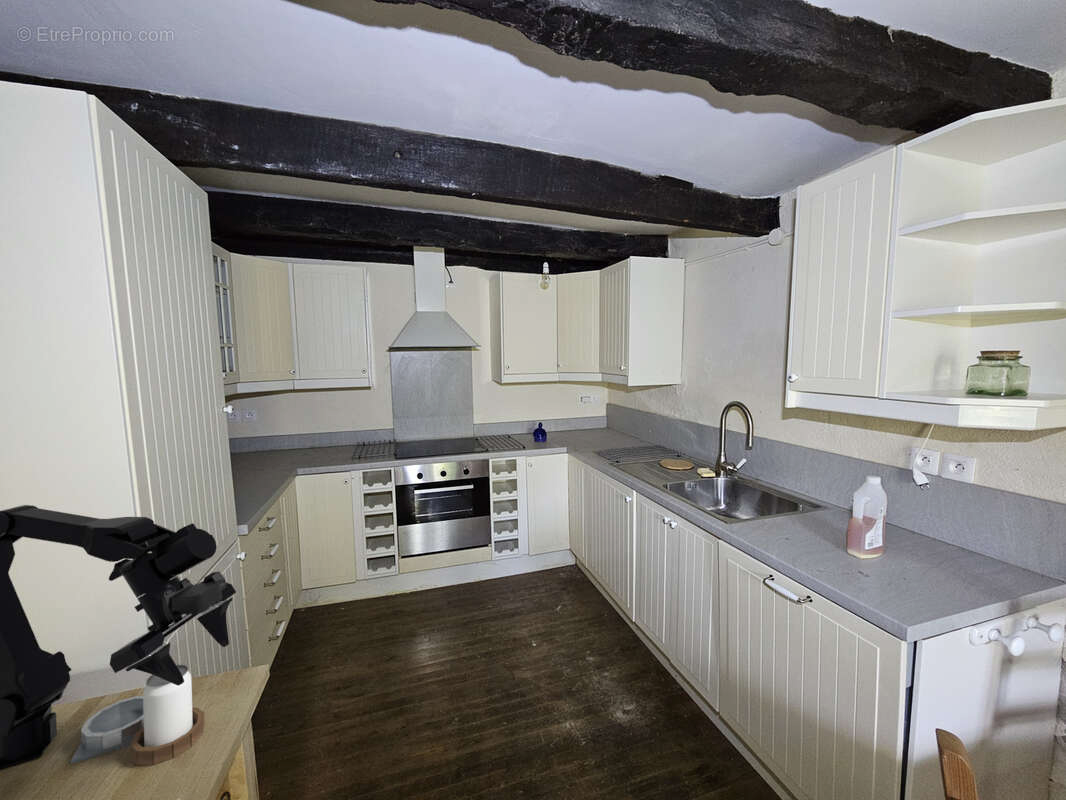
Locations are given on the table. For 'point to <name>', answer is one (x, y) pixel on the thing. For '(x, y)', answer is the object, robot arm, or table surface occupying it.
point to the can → (167, 709)
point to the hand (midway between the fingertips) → (205, 663)
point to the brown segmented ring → (169, 749)
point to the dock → (110, 728)
